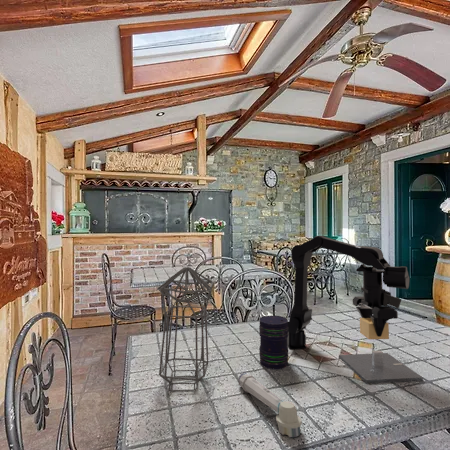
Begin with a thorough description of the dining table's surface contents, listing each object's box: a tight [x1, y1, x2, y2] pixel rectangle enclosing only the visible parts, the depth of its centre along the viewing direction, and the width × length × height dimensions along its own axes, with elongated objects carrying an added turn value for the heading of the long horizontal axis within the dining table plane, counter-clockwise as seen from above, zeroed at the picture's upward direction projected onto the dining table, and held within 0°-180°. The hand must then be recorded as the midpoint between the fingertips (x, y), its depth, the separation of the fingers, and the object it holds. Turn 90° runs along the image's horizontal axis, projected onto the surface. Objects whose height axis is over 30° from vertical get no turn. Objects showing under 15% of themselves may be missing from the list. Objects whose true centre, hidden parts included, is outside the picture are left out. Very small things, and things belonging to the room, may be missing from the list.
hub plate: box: [338, 350, 424, 384], centre depth 102 cm, size 18×18×6 cm
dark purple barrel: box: [258, 315, 289, 371], centre depth 106 cm, size 10×10×15 cm
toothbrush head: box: [237, 372, 303, 438], centre depth 80 cm, size 5×7×25 cm
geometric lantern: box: [156, 266, 214, 392], centre depth 93 cm, size 16×16×35 cm
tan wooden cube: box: [359, 317, 390, 340], centre depth 102 cm, size 6×6×6 cm
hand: (373, 332), depth 102 cm, fingers closed on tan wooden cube, 6 cm apart
